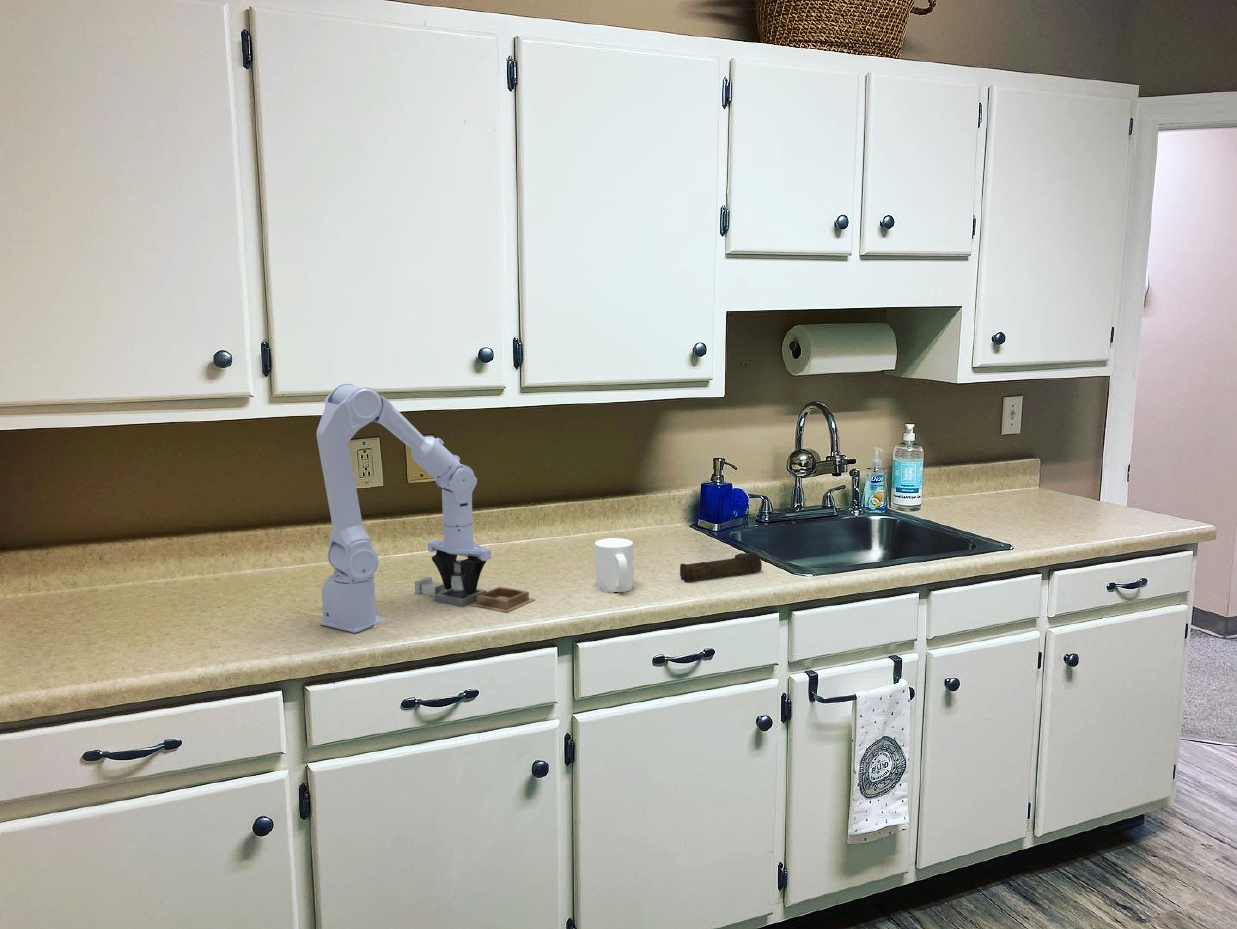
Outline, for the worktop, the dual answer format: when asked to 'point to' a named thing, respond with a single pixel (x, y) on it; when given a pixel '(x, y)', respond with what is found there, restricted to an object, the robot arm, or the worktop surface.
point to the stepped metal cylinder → (458, 581)
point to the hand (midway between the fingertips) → (460, 590)
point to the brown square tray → (503, 599)
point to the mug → (614, 564)
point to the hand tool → (722, 567)
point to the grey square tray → (448, 599)
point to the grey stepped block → (428, 587)
